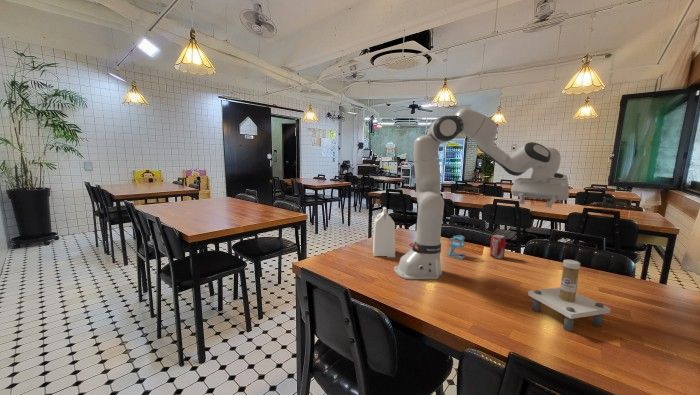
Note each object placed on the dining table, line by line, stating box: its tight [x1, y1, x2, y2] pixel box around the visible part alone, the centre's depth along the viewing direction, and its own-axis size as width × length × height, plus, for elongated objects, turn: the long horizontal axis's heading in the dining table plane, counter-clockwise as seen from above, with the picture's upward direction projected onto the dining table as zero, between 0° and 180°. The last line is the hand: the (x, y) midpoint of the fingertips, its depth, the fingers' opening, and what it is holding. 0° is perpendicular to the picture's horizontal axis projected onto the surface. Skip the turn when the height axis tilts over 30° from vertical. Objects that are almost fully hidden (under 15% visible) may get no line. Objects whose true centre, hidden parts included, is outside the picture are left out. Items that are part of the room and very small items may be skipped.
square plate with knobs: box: [527, 287, 612, 332], centre depth 100 cm, size 16×16×7 cm
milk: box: [372, 206, 396, 258], centre depth 162 cm, size 12×12×26 cm
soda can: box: [489, 234, 506, 260], centre depth 159 cm, size 7×7×12 cm
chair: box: [447, 234, 467, 260], centre depth 160 cm, size 8×8×12 cm
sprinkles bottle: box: [559, 259, 581, 302], centre depth 98 cm, size 5×5×14 cm
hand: (534, 204), depth 118 cm, fingers open, 8 cm apart
